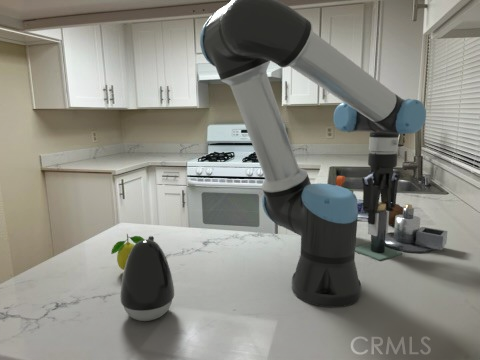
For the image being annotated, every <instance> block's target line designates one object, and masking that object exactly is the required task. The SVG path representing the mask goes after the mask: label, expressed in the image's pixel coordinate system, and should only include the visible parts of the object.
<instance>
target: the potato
mask: <svg viewBox="0 0 480 360" xmlns="http://www.w3.org/2000/svg"><path fill="white" fill-rule="evenodd" d="M403 207H404V206H401V205H399V204H397V203H396V205H395V208H393V209H394V210H393V211H390V213H389V221H388V225H391V226H395V216H396V215H403Z"/></svg>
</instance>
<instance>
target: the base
mask: <svg viewBox="0 0 480 360" xmlns="http://www.w3.org/2000/svg"><path fill="white" fill-rule="evenodd" d="M415 244H416V243H404V242H400V241H397V240H395V239H394V231H393V232H388V233H387V234H385V247H388V248H390V249H393V250H396V251H399V252H402V253H403V252H405V253H412V254H413V253H415V254H417V253H418V254H420V253H421V254H422V253H430V252H432V251H434V250H435V248H430V247H425V246H420V245H415Z"/></svg>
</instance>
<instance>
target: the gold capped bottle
mask: <svg viewBox="0 0 480 360" xmlns="http://www.w3.org/2000/svg"><path fill="white" fill-rule="evenodd" d="M377 213H379V220H378V235H377V236H373V235H370V243H371V251H372V252H376V253H383V252H385V228H386V203H383V202H381V201H379V203H378V209H377Z"/></svg>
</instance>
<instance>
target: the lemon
mask: <svg viewBox="0 0 480 360" xmlns="http://www.w3.org/2000/svg"><path fill="white" fill-rule="evenodd" d="M129 239H130V240H131V241H132V242H133V243H132V242H129ZM142 240H145V239H144V237H141V236H140V235H134V236H131V237H130V236H129V234H128V233H126V240H122V241H121V240H120V241H118V242H116V243H115V244H114V245H113V246H112V248H111V252H110V253H111V255H113V254H116V253H117V254H116V255H117V256H116V262H117V264H118V265H117V266H118V267H119V268H120V269H121V270H123V271H124V269H125V265H126V261H127V258H128V256H129V253H130V251H131V250H132V248H133V247H134V245H135V244H136V243H138V242H139V241H142ZM134 243H135V244H134Z"/></svg>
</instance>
